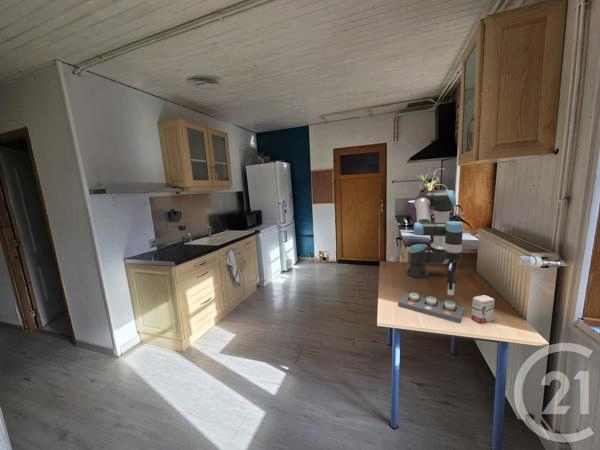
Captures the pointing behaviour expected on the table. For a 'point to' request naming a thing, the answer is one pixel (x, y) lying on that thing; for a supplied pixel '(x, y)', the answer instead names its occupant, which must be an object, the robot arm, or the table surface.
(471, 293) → the table surface
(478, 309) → the ink box
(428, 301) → the button
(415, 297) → the button
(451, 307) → the button
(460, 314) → the board
